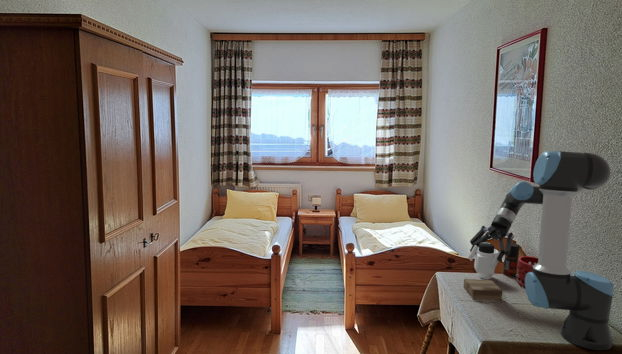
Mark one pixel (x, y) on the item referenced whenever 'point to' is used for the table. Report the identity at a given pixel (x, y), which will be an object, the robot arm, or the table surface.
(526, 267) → the plant pot
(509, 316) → the table surface
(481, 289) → the walnut plinth
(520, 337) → the table surface
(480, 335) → the table surface
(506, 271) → the deodorant
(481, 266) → the medicine bottle
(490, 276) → the foam cup
